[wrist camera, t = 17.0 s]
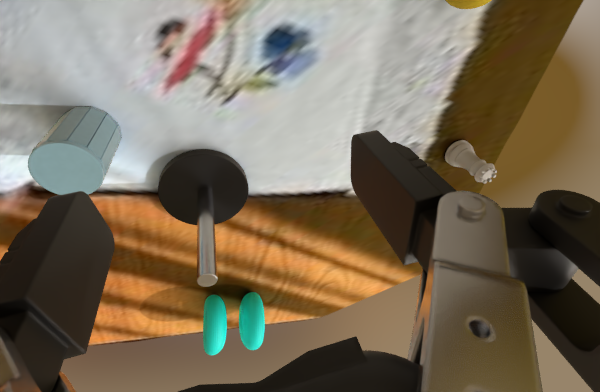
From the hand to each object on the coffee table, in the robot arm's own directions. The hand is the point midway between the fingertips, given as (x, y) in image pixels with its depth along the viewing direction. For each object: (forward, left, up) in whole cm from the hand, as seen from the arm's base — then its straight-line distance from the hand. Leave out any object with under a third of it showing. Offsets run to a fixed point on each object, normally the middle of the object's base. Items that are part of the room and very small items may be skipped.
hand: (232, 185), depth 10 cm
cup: (-7, -17, -31) cm, 36 cm away
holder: (+8, -19, -31) cm, 37 cm away
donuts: (+23, -41, -31) cm, 56 cm away
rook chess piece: (+42, +4, -31) cm, 52 cm away
